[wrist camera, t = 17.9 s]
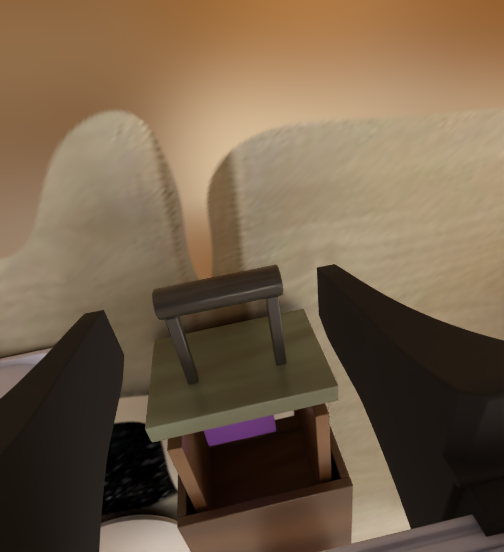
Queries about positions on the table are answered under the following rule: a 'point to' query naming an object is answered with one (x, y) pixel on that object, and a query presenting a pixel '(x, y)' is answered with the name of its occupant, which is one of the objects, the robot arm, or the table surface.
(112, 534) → the flower in vase
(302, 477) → the drawer
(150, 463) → the table surface
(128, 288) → the table surface
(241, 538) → the cabinet
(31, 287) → the table surface
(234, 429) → the purple eraser
